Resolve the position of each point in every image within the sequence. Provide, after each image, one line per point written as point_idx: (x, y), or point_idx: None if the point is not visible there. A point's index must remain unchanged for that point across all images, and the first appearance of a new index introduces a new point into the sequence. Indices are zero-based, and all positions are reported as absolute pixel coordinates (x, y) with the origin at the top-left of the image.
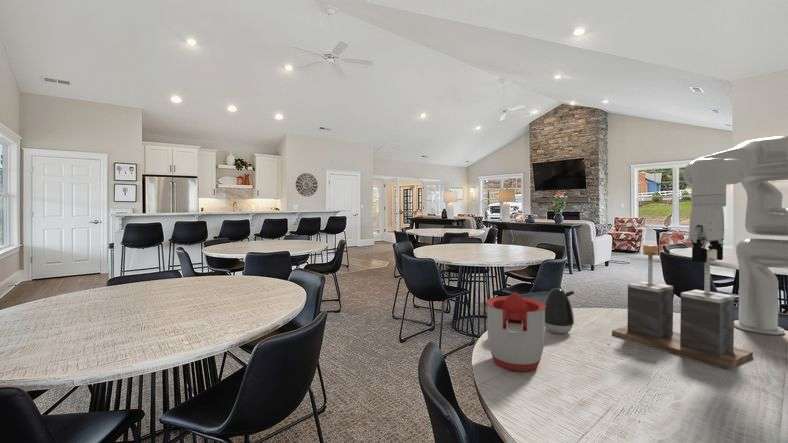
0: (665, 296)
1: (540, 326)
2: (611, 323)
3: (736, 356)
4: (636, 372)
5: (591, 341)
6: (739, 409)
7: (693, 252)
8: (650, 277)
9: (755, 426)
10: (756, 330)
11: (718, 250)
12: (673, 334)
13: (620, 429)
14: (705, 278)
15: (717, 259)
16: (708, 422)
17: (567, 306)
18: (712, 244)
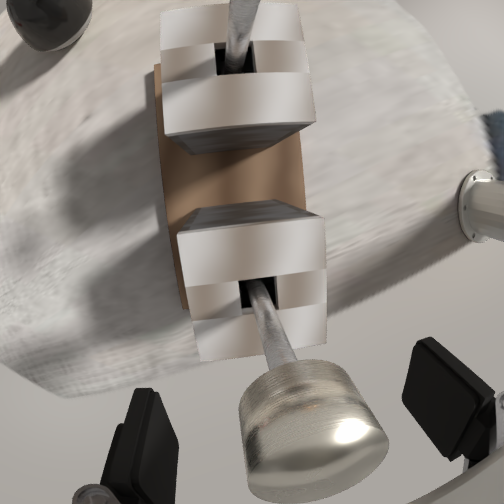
0: (237, 132)
1: None
2: None
3: None
4: (27, 247)
5: (71, 94)
6: (70, 367)
7: (122, 449)
8: (228, 45)
9: (57, 385)
10: (461, 217)
11: (436, 431)
12: (275, 146)
13: None
14: (260, 329)
15: (407, 382)
16: (21, 360)
17: (29, 27)
18: (482, 428)
